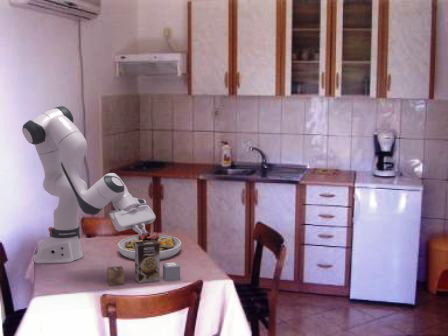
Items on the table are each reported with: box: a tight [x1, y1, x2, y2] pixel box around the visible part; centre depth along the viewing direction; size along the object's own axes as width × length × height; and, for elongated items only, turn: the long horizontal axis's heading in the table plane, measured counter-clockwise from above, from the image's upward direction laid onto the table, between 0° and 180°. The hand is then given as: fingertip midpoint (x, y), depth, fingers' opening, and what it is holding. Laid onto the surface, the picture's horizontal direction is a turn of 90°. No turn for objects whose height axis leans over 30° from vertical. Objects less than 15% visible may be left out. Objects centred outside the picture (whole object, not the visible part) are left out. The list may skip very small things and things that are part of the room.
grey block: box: [162, 261, 181, 282], centre depth 243 cm, size 6×6×6 cm
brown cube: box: [106, 265, 125, 287], centre depth 237 cm, size 6×6×6 cm
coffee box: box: [134, 240, 161, 284], centre depth 241 cm, size 9×6×16 cm
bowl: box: [117, 230, 182, 261], centre depth 278 cm, size 30×30×8 cm
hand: (143, 234), depth 237 cm, fingers closed
